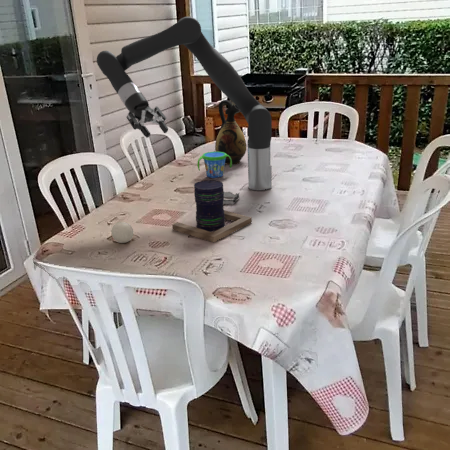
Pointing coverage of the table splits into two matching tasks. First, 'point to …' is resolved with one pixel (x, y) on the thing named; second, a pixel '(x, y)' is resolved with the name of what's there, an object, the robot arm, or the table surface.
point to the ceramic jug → (230, 135)
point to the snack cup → (214, 163)
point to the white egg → (122, 232)
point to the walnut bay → (214, 236)
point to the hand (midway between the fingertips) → (157, 133)
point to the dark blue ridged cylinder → (209, 205)
